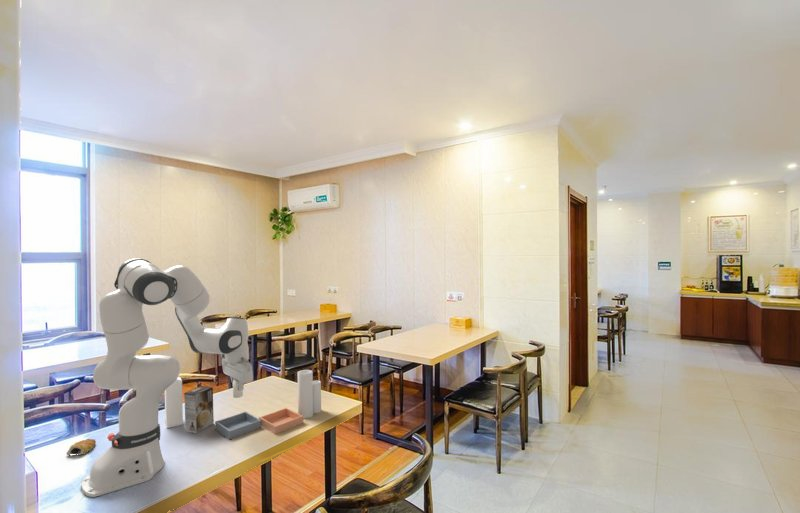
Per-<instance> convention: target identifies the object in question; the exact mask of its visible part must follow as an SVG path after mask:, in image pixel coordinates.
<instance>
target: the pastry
mask: <svg viewBox="0 0 800 513" xmlns="http://www.w3.org/2000/svg"><path fill="white" fill-rule="evenodd" d="M96 442H97V441H96V439H93V438H87V439H83V440H80V441H77V442H74V443H73V444H71V446H70V447H69V448H68V450H67V452H66V456H68V455H70V454H78V455H77V456H81V454H83V455H85V454H84V453H86V452H88V451H89V452H90V451H92V450H93V449H94V448H95V446H96ZM94 445H95V446H94ZM92 448H93V449H92ZM91 449H92V450H91ZM89 452H88V453H89ZM86 454H87V453H86Z"/></svg>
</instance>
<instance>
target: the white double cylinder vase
mask: <svg viewBox="0 0 800 513" xmlns="http://www.w3.org/2000/svg"><path fill="white" fill-rule="evenodd" d="M313 374H314V372H313V370H312V369H303V370H299V371H297V413H298V414H300V415H302V416H303V420H305V419H309V418H312V417H313V415H314V413H316V414H319V413H321V412H322V381H321V380H314V379H313V378H314V377H313Z"/></svg>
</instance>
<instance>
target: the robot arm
mask: <svg viewBox="0 0 800 513" xmlns="http://www.w3.org/2000/svg"><path fill="white" fill-rule="evenodd" d="M114 287H115V289H116V290H114V291H111V292H109V293H107V294H105V295H104V296H103V297H102V298H101V299H100V301H99V304H98V306H99V308H98V309H99V318H100V324H101V327H102V331H103V334H104V339H105V342H106V346H107V354H106V355H105V357H104V358H103V359H102V360H100V361H99V363H97V364H96V365H95V367H94V370H93V374H92V380H93V383H94V384H95V386H96V387H97V388H99V389H104V390H112V391H122V390H135V392H136V393H135V394H136V395H135V396H134V397H132V398H131V399H130V400H128V401H126V402H125V403H124V404H122V406H121V407H120V409H119V411H118V432H117V433H116V434H115V433H113V432H111V433H109V434H108V435H107V439H108V441H109V442H111V446H110V447H109V448H108V449H106V451H104V452H103V453H102V454H101V455H100V456H99V457H98V458H96V459H95V460H94V461H93V463H92V465H91V468H90V472H89V475H87V476H85V477H84V478H83V479H82V481H81V484H80V489H81V492H82V493H83V495H84V496H87V497H90V498H95V497H99V496H103V495H106V494H109V493H111V492H115V491H118V490H122V489H126V488H130V487H131V486H135V485H139V484H142V483H145V482H147V481H148V482H149V481H150V480H152V479H153V477H154V476H155V474H156V473H158V472H159V471H160V470H162V468H163V467H164V466H165V460H164V457H163V454H162V450H161V443H160V440H161V425H160V423H159V406H160V401H161V399H162V396H163V394H165V390H166V389H167V388H168V387H169V386H170V385H172V384H173V383H174V382H175V381H176V379H177V378H178V377H180V373H181V365H180V362H179V360H178V359H177V358H176V357H175V356H171V355H165V354H143V355H141V354H140V355H139V354H138V353H137V352H139V351H141V350H142V349H143V348H145V346H146V345H147V344H148V343H149V338H150V334H149V331H148V328H147V323H146V319H145V316H144V313H143V305H146V306H156V305H160V304H162V303H164V302H166V301H167V300H169V299H170V301H171V303H173V305H174V306H175V307H174V313H175V316H176V318H177V320H178V322H179V323H180V325H181V327H182V329H183V331H184V332H185V335H186V337H187V339H188V342H189V343H188V344H189V346H190V349H191V350H192V351H193V352H194V353H196V354H214V355H220V357H221V358H222V360H221V364H222V371H223V374H225V376H229V377H230V380H231V383H232V384H231V385H232V388H233V379H236V380H238V381H239V386H238V390H239V391H242V390H244V388H245V387H244V386H245V384H248V383H252V382H253V380H254V373H253V365H252V363H251V362H249V358H250V357H249V356H250V354H249V348H250V347H249V343H248V340H249V326H248V322H247V319H246V318H244V317H236V316H235V317H232V316H229V317H227V318H226V322H224V324H223V326H221V327H219V328H212V327H211V328H210V327H206V326H204V325H202V323H201V322H200V319H199V317H198V316H199V315H201V314H202V313H203V312H204V311H205V310H206V309H207V308H208V306H209V303H210V301H211V298H210V295H209V292H208V290H207V288H206V287H205V285H204V283H202V281H201V280H200V279H199V277H198V276H197V275H196V274H195V273H194V272H193V271H192V270H191V269H190V268H189V267H187V266H185V265H180V264H179V265H174V266H172V267H169V268H168V269H166V270H162V269H160V268H159V267H158V266H156V265H155V264H153V263H152V262H151V261H149V260H147V259H143V258H130V259H128V260H125V261H124V262H122V264H121V266H120V267H119V268H118V271H117V275H116V278H115V281H114Z"/></svg>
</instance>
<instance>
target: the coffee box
mask: <svg viewBox="0 0 800 513" xmlns="http://www.w3.org/2000/svg"><path fill="white" fill-rule="evenodd" d="M213 388H214V387H213V386H207V385H200V386H198V387H196V388H193V389H191V390H188V391H186V392H184V394H183V397H184V423H185V424H184V425H185V428H184V429H185V432H188V433H189V432H190V433H194V434H195V433H196V434H197V433H200V432H202V431H203V430H205V429H207V428H208V427H210V426H212V425H213V424H214V425H215V422H214V420H215V419H214V418H215V417H214V392H213V391H214V389H213Z"/></svg>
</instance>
